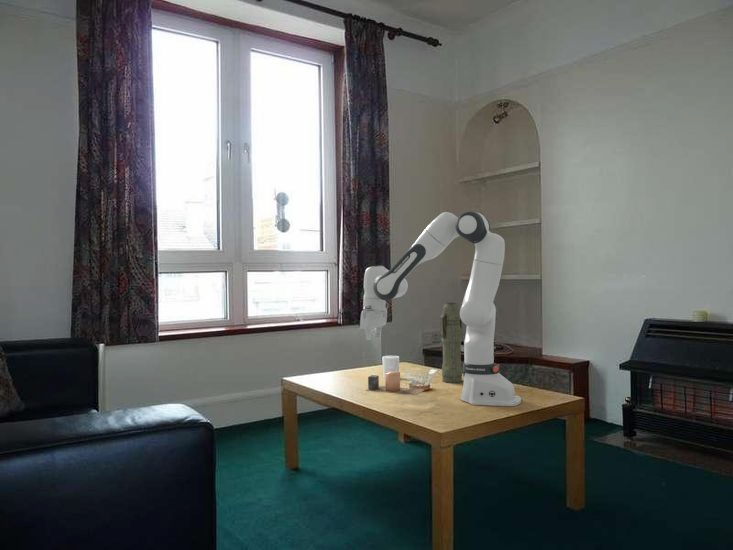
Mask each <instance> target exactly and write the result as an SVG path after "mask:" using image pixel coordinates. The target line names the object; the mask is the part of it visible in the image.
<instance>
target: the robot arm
mask: <svg viewBox="0 0 733 550" xmlns="http://www.w3.org/2000/svg"><path fill="white" fill-rule="evenodd" d="M459 237H461V238H462V239H464V240H466V241H467V242H470V243H472V244H474V247H475V248H474V249H475V251H474V256H473V261H472V266H471V272H470V276H469V281H468V285H467V287H466V290H465V293H464V296H463V300H462V303H461V306H460V318H461V320H462V324H464V325H465V326H466V330H465V337H464V341H463V345H464V346H463V348H464V349H463V351H464V352H463V356H464V357H463V358H464V360H463V364H462V377H463V383H462V385H463V386H462V390H461V394H460V397H459V399H460V400H461V401H462V402H466V403H469V404H470V405H474V406H495V407H496V406H498V407H499V406H500V407H515V406H518V405H519V404H521V402H522V398H521V396H518V395H516V391H515V388H514V385H513V384H514V383H512V382H511V381H510V380H508V379H507V378H506V377H504V376H503V375H502V374H501V373H500V364H497V363H496V362H494V360H495V356H494V353H495V351H494V342H495V341H494V340H495V333H496V332H495V330H496V319H497V318H496V315H497V308H496V305H495V303H494V301H495V297H496V295H497V292H498V288H499V286H500V280H501V277H502V271H503V266H504V261H505V254H506V253H505V252H506V246H505V245H506V244H505V243H506V242H505V239H504V238H503V237H502V236H501V234H498V233H494V232H491V224H490V222H489V220H488V218H486V216H485V215H483V214H481V213H480V212H477V211H474V210H473V211H472V210H467V211H464V212H462V213H461V214H460V215H459V216H456V215H455V214H454V213H452V212H448V211H445V212H444V211H443V212H441V213H440V214H439V215H438V216H436V217H435V218H434V219H433V220H432V221H431V222H430V223H429V224H428V225H427V226H426V227H425V228H424V230H422V233H420V235H419V236H418V238H417V239H416V240H415V242H414V243H413V244H412V245H411V246H410V247H409V249H408V250H407V251H406V253H405V254H403V256H402V257H401V258H400V259H399V260H397V262H395V264H394V265H393V267H391V268H390V269H387V268H386V267H385V266H384V265H373V266H368V267H367V268H366V269H365V272H364V275H363V276H364V277H363V291H364V294H363V301H362V303H363V304H362V305H363V308H362V311H361V313H360V320H359V328H360V330H364V333H365V340H366V341H370V340H372V335H371V332H372V329H375V330H376V331H375V333H374V337H375V338H380V337H381V333H382V328H383V326H384V327H385V326H386V324H387V321H388V308H389V303H388V302H387V301H389V300H392V299H397V298H400V297H403V296H404V295H405V294H406V293H407V292H408V289H409V282H408V280H407V279H406V278H407V276H408V275H410V273H411V272H412V271H413V270H415V268H416V267H418V265H420V264H423V263H425V262H427V261H431V260H433V259H435V258H437V257H438V256H439V255H441V254H442V253H443V251H445V249H446V248H448V246H449V245H450V244H451V243H452V242H453V240H454V239H456V238H459Z"/></svg>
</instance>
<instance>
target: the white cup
mask: <svg viewBox="0 0 733 550" xmlns="http://www.w3.org/2000/svg"><path fill="white" fill-rule="evenodd" d="M381 359H382V360H381V362H382V373H383V379H384V380H385V372H389V371H397V372H400V371H399V370H400V356H399V355H383V356H382V357H381Z"/></svg>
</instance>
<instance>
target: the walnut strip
mask: <svg viewBox="0 0 733 550" xmlns="http://www.w3.org/2000/svg"><path fill="white" fill-rule="evenodd" d="M379 376H380V375H372V374H371V375H370V376H368V379H367V384H368V385H367V386H368V387H367V389H366V390H365V391H367V392H378V393H379V392H380V393H390V394H401V395H402V394H404V395H419V394H420V393H423V392H424V391H425V389H423V388H422V389H421V388H408V387H400V391H386V390H385V385H384V386H383V385H380V384H379V383H380V379H379V378H380V377H379Z"/></svg>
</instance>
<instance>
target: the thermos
mask: <svg viewBox="0 0 733 550" xmlns="http://www.w3.org/2000/svg"><path fill="white" fill-rule="evenodd" d="M460 309H461V307H460V306H459V303H457V302H445V303H443V307H442V314H441V315H440V318H439V323H440V324H439V326H440V329H439V332H440V333H439V335H440V337H441V343H442V365H441V376H442V380H441V381H442V382H443V383H446V384H458V383H460V384H461V383H462V382H463V378H462V377H463V364H462V352H461V349H462V346H461V344H462V341H463V340H462V339H463V338H462V336H463V322H462V320H461V318H460Z"/></svg>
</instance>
